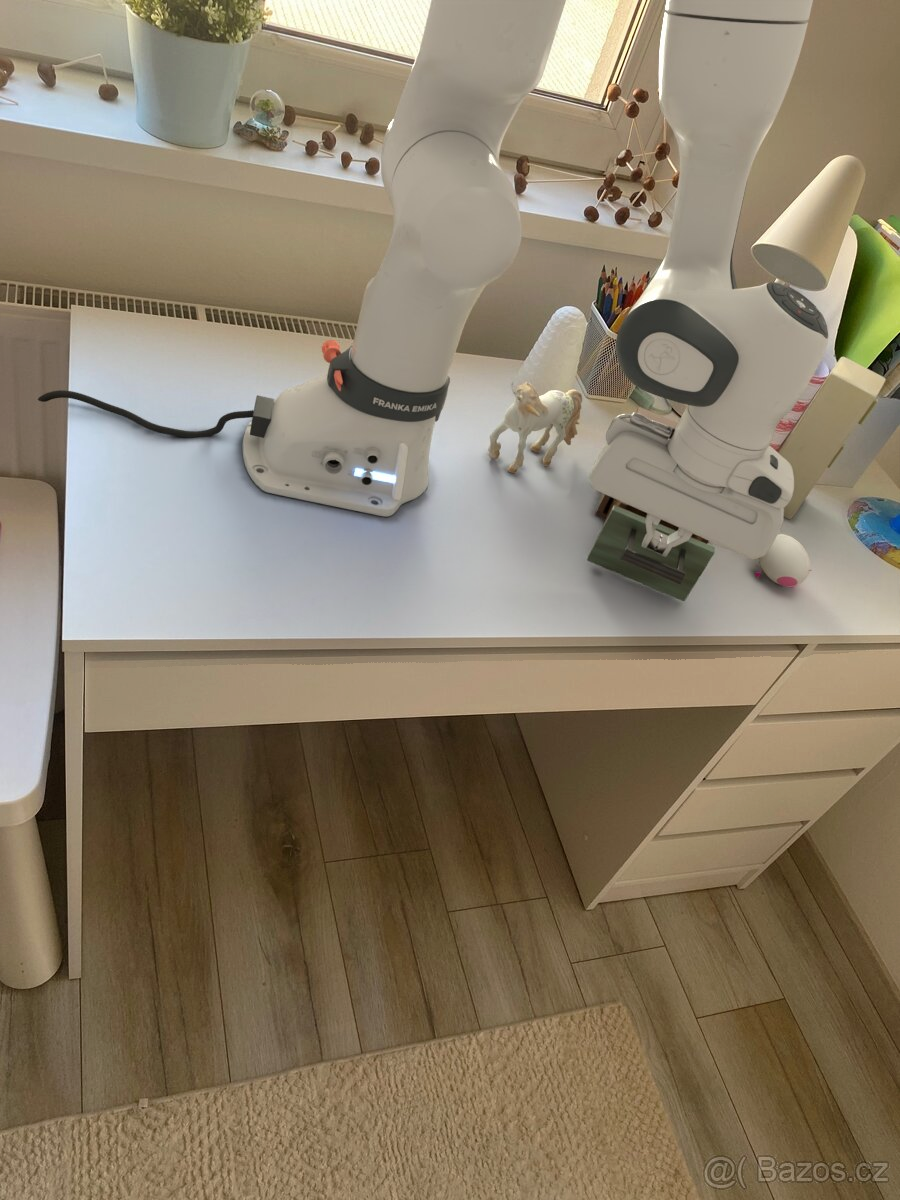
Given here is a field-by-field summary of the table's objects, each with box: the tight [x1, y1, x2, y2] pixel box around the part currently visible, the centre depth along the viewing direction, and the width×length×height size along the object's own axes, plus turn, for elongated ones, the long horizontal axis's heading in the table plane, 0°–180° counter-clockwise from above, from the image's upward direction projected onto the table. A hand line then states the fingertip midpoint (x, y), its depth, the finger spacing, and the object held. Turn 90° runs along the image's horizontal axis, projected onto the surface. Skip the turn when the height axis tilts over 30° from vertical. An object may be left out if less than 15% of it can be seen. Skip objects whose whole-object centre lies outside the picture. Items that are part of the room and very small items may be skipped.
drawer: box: [586, 498, 716, 602], centre depth 107 cm, size 18×12×8 cm
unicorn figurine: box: [488, 381, 583, 474], centre depth 115 cm, size 7×20×13 cm, turn 147°
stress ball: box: [754, 533, 811, 588], centre depth 116 cm, size 8×8×7 cm
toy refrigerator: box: [778, 356, 886, 520], centre depth 126 cm, size 8×7×21 cm
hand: (653, 549), depth 100 cm, fingers closed
